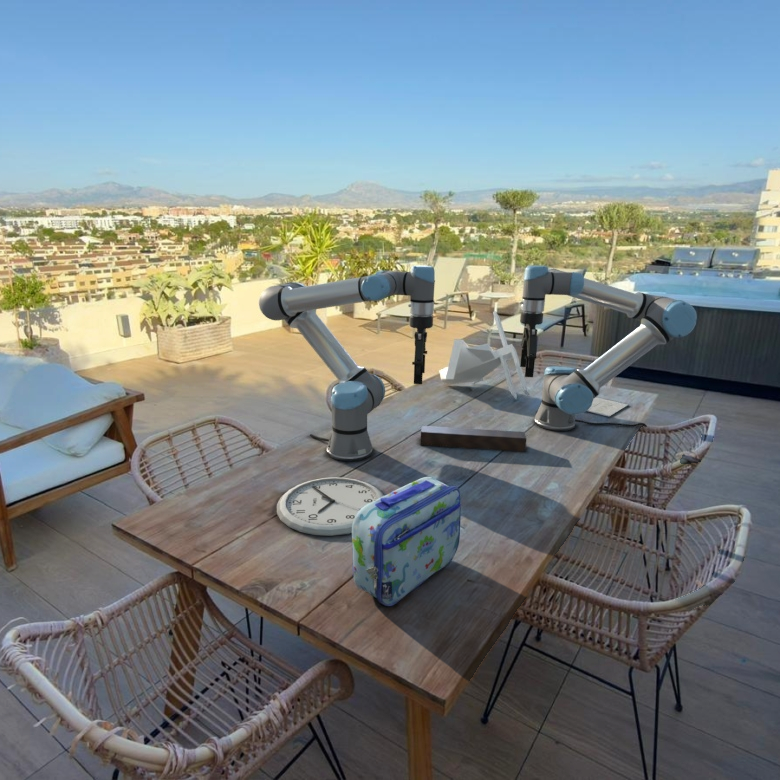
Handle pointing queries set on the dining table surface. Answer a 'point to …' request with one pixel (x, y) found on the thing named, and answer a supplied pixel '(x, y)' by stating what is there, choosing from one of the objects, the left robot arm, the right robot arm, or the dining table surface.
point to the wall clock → (325, 505)
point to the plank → (473, 438)
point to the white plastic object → (481, 362)
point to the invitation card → (605, 407)
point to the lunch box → (405, 538)
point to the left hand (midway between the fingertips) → (419, 378)
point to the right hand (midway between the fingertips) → (526, 371)
